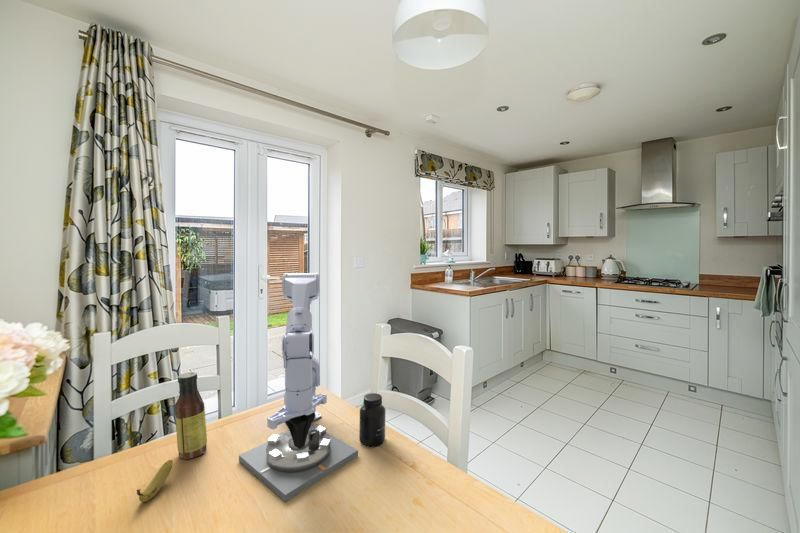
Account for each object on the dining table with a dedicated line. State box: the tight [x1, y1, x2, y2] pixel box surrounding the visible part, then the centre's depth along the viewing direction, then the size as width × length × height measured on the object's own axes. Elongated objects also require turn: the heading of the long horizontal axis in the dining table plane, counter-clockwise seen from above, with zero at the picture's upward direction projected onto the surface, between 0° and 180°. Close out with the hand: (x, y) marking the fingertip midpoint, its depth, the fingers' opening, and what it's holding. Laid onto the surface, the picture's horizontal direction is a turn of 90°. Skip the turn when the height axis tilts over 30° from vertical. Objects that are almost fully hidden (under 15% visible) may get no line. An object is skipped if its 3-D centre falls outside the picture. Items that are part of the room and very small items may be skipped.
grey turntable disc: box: [266, 425, 331, 472], centre depth 84 cm, size 15×15×7 cm
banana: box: [135, 459, 174, 503], centre depth 72 cm, size 10×2×4 cm, turn 0°
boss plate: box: [238, 423, 359, 503], centre depth 84 cm, size 20×20×2 cm
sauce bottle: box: [174, 371, 208, 460], centre depth 85 cm, size 6×6×20 cm
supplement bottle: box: [358, 392, 386, 448], centre depth 91 cm, size 7×7×12 cm
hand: (299, 445), depth 77 cm, fingers closed
